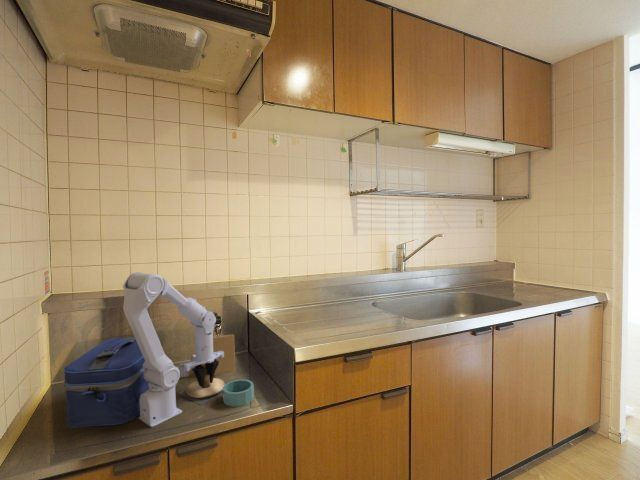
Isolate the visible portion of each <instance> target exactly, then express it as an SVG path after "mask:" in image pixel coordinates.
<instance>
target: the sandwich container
mask: <svg viewBox="0 0 640 480" xmlns="http://www.w3.org/2000/svg"><path fill="white" fill-rule="evenodd" d="M218 351H223V352H224V357H223V358H221V357H220V358H218V359H216V360H217V361H219V365H218V366H217V368H216V371H215V374H214V376H215V375H222V374H226V373H231V372H235V371H236V359H235V358H236V357H235V356H236V355H235V354H236V353H235V352H236V351H235V334H233V333H232V334H227V335H220V336H216V337H214V336H213V353H214V352H218Z"/></svg>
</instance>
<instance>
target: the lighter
mask: <svg viewBox="0 0 640 480" xmlns="http://www.w3.org/2000/svg"><path fill="white" fill-rule="evenodd" d="M195 358H196V354H193V353H192V355H191V357H190V359H189V361H188V362H190V361H191V360H193V359H195ZM184 364H186V362H182V363H179V364H178V365H177V366H176V367H177V368H178V369H179V371H180V377H179V379H181V378H185V377H189V376H190V373H189V372H190V371H185V370H184Z"/></svg>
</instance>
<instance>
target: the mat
mask: <svg viewBox="0 0 640 480" xmlns="http://www.w3.org/2000/svg"><path fill="white" fill-rule="evenodd" d="M178 394H179V395H180V396H183V397H184V398H186V399H188V400H190V401H192V402H194V403H196V404H198V405H200V406H202V405H203V404H205V403H208V402H210V401H211V400H213V399H215V398H217V397H220V396H223V390H222V391H221V392H219V393H217V394H215V395H212V396H209V397H203V398H195V397H191V396H189V395H188V394H187V388H186V389H185V390H183V391H180V392H178Z"/></svg>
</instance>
